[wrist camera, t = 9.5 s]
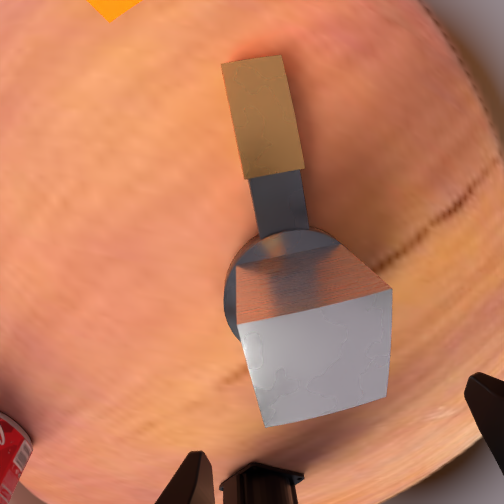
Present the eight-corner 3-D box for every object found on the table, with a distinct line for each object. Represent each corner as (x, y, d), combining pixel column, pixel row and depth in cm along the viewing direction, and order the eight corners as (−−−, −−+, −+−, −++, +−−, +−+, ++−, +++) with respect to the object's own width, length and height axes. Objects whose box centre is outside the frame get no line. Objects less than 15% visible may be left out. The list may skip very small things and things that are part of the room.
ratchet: (357, 330, 19) (383, 370, 15) (240, 356, 19) (242, 404, 15) (320, 60, 14) (347, 31, 10) (176, 83, 14) (156, 58, 10)
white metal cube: (340, 243, 16) (392, 288, 10) (347, 331, 17) (386, 396, 12) (235, 265, 16) (236, 324, 10) (256, 351, 17) (265, 427, 12)
